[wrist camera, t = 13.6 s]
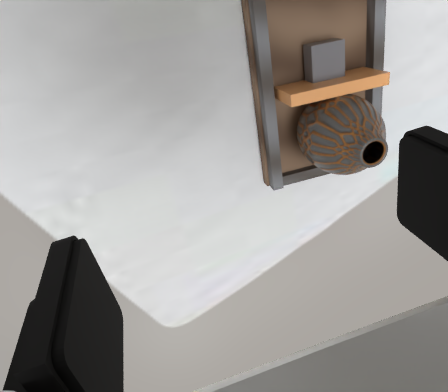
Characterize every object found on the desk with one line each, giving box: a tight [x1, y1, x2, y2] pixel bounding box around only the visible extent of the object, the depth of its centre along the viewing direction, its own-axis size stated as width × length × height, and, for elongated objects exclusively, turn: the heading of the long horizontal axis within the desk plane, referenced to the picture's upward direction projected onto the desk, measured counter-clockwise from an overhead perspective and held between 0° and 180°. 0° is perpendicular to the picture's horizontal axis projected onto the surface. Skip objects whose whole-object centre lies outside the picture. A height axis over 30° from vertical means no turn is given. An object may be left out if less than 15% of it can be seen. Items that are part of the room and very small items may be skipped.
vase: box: [297, 94, 388, 175], centre depth 32 cm, size 7×7×9 cm
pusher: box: [274, 38, 390, 107], centre depth 31 cm, size 4×9×4 cm, turn 99°
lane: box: [242, 0, 386, 190], centre depth 31 cm, size 22×12×6 cm, turn 10°
